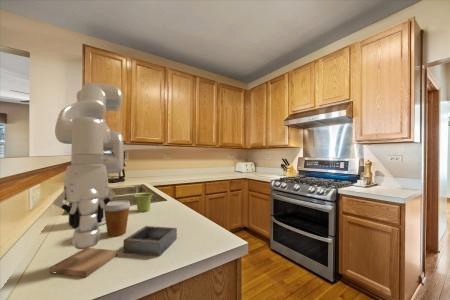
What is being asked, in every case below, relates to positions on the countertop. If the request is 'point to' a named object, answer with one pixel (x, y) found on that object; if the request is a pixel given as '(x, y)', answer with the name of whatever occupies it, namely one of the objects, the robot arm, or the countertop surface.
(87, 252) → the walnut coaster
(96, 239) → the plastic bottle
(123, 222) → the disposable coffee cup
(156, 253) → the tray
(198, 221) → the countertop surface
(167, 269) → the countertop surface
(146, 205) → the plant pot
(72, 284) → the countertop surface
